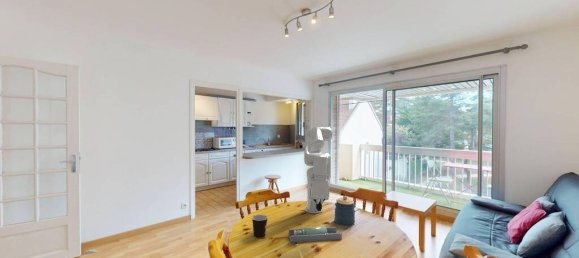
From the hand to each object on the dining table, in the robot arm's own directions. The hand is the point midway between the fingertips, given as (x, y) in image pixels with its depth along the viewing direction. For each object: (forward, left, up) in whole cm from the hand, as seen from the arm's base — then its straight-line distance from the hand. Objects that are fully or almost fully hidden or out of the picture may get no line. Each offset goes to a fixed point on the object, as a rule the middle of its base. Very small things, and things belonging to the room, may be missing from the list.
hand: (318, 210), depth 131 cm
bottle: (0, +4, -12) cm, 13 cm away
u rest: (0, -2, -16) cm, 16 cm away
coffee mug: (-9, -31, -16) cm, 36 cm away
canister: (-18, +23, -16) cm, 33 cm away
